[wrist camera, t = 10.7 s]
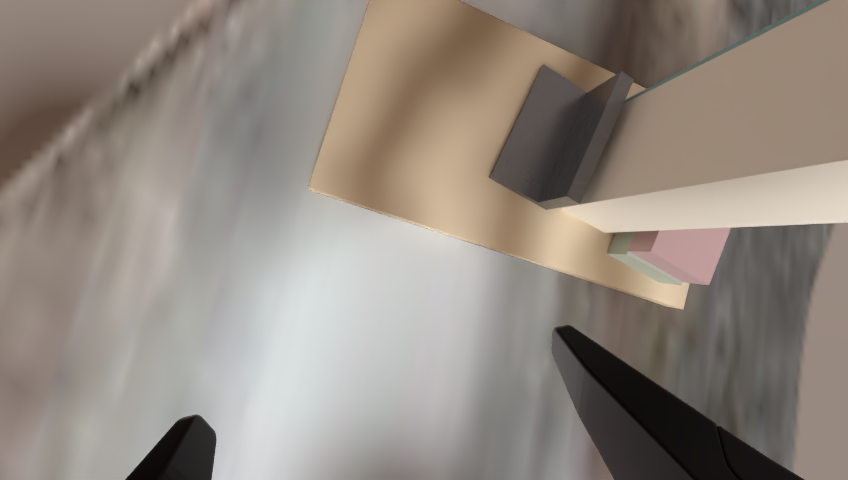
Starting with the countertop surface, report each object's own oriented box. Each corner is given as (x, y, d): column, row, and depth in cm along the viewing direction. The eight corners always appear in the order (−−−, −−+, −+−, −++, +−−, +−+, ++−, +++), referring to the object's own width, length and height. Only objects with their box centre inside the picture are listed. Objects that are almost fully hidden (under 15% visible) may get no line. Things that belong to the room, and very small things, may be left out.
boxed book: (604, 232, 21) (931, 218, 9) (559, 207, 20) (850, 159, 9) (643, 138, 22) (995, 15, 10) (601, 112, 21) (923, -54, 9)
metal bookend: (545, 209, 20) (579, 204, 17) (488, 177, 20) (513, 165, 17) (593, 102, 21) (634, 79, 18) (540, 67, 20) (573, 37, 17)
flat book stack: (658, 282, 22) (707, 288, 19) (606, 253, 21) (649, 255, 18) (705, 166, 23) (759, 154, 20) (656, 134, 22) (705, 117, 19)
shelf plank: (708, 132, 24) (727, 126, 23) (666, 306, 23) (683, 309, 22) (379, -20, 20) (381, -37, 18) (310, 190, 19) (307, 187, 18)
